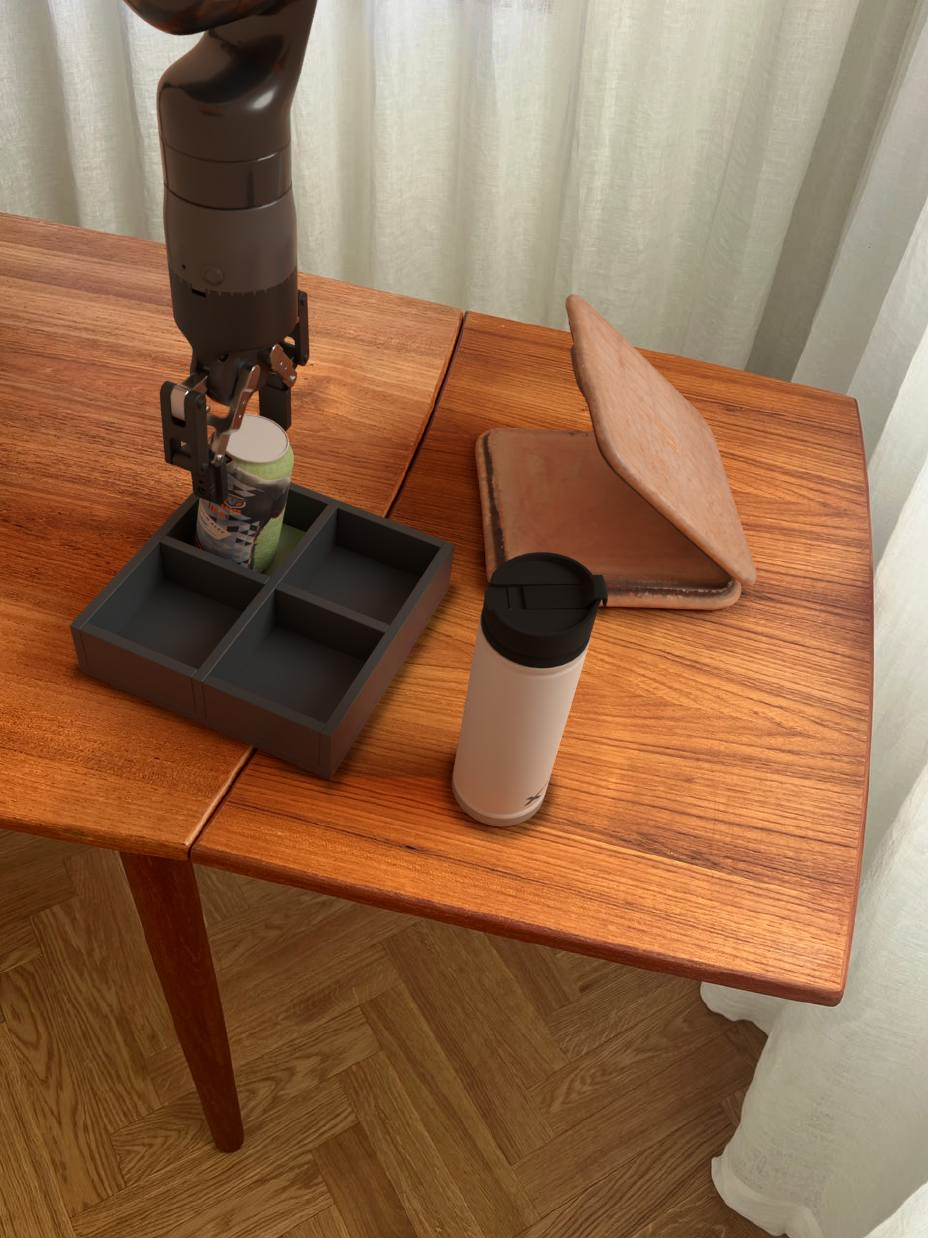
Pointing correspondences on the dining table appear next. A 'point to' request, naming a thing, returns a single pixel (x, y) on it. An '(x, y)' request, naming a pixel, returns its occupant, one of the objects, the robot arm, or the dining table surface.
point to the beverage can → (249, 496)
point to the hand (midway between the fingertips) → (244, 461)
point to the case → (619, 485)
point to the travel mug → (523, 683)
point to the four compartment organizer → (270, 626)
